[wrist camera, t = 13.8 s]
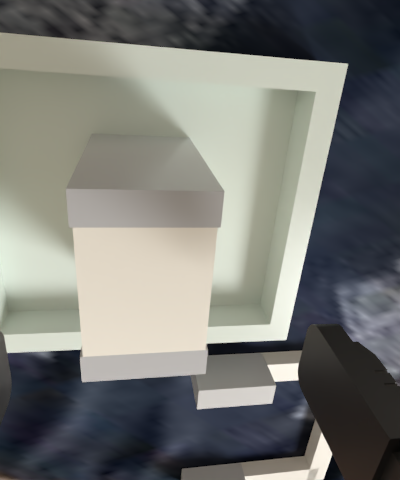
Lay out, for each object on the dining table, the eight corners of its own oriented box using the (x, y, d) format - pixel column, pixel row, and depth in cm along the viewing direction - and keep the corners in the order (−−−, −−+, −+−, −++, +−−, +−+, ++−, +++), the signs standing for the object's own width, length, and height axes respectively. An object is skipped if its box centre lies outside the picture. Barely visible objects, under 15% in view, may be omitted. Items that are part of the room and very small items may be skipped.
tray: (317, 61, 19) (348, 63, 16) (270, 309, 26) (286, 339, 23) (-61, 27, 16) (-99, 23, 13) (-6, 318, 23) (-24, 354, 20)
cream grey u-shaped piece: (356, 347, 28) (379, 378, 26) (317, 466, 34) (333, 500, 32) (192, 356, 26) (198, 390, 24) (180, 480, 32) (185, 519, 29)
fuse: (189, 137, 19) (224, 191, 12) (181, 269, 22) (205, 374, 15) (91, 133, 18) (65, 188, 11) (98, 270, 21) (82, 382, 14)
